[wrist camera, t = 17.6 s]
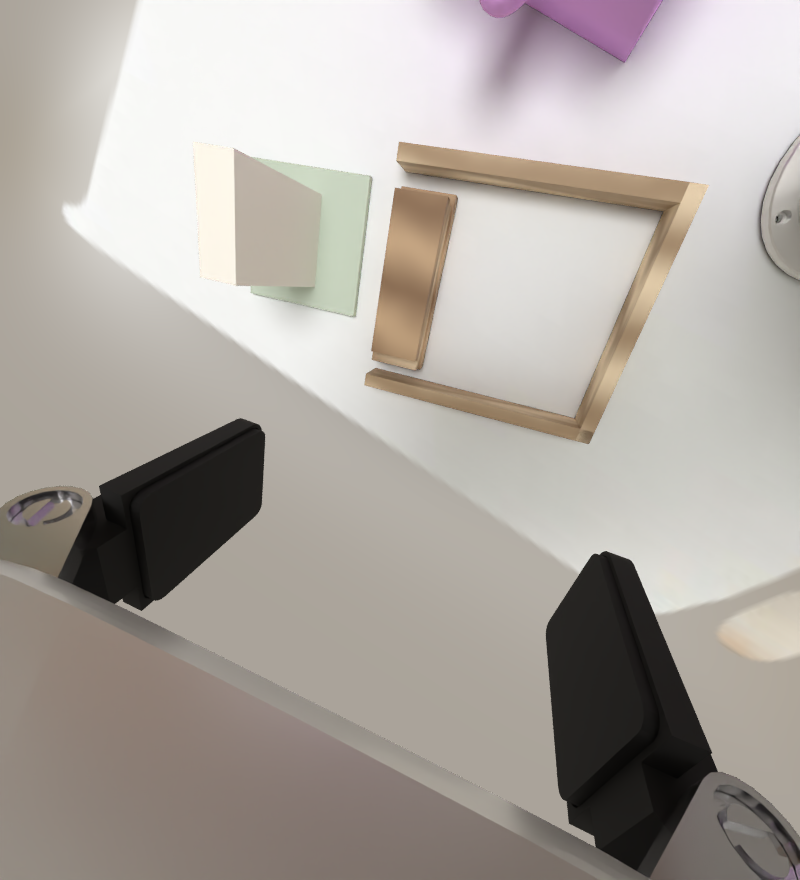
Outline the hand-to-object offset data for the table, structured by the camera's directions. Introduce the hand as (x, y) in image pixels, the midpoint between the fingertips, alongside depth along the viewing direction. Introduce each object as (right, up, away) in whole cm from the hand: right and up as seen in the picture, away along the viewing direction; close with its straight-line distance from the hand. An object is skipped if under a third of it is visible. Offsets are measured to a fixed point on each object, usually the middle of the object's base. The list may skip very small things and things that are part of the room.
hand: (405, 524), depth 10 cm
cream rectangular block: (-9, +22, +25) cm, 35 cm away
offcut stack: (+1, +17, +24) cm, 30 cm away
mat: (-9, +22, +26) cm, 35 cm away
